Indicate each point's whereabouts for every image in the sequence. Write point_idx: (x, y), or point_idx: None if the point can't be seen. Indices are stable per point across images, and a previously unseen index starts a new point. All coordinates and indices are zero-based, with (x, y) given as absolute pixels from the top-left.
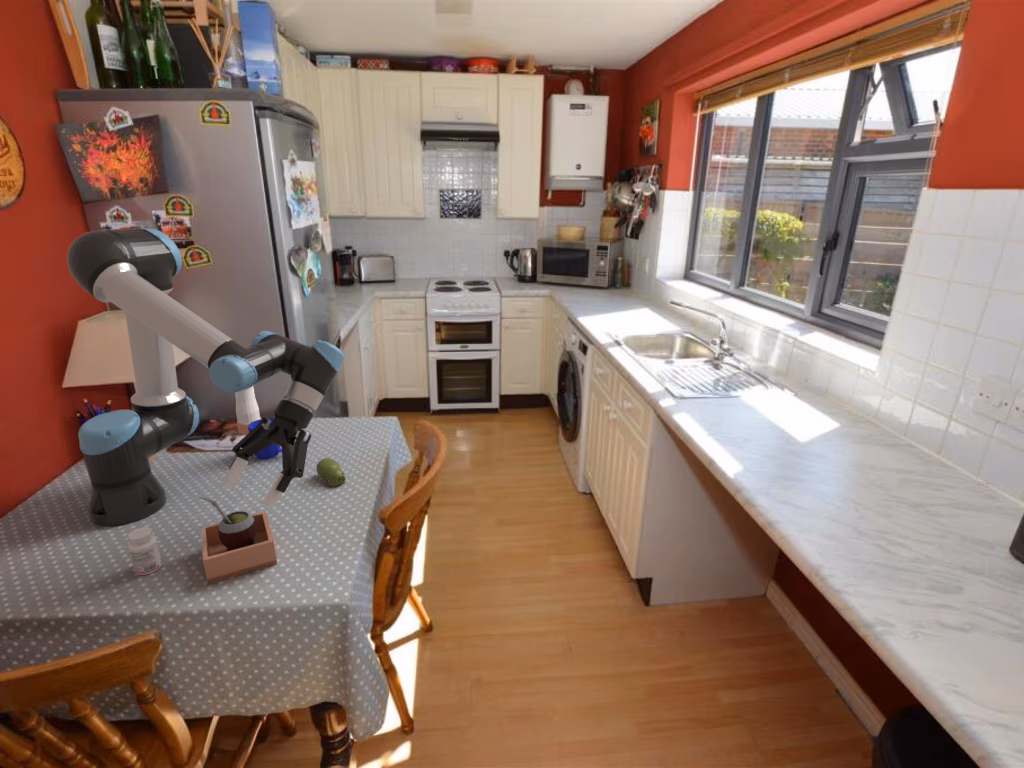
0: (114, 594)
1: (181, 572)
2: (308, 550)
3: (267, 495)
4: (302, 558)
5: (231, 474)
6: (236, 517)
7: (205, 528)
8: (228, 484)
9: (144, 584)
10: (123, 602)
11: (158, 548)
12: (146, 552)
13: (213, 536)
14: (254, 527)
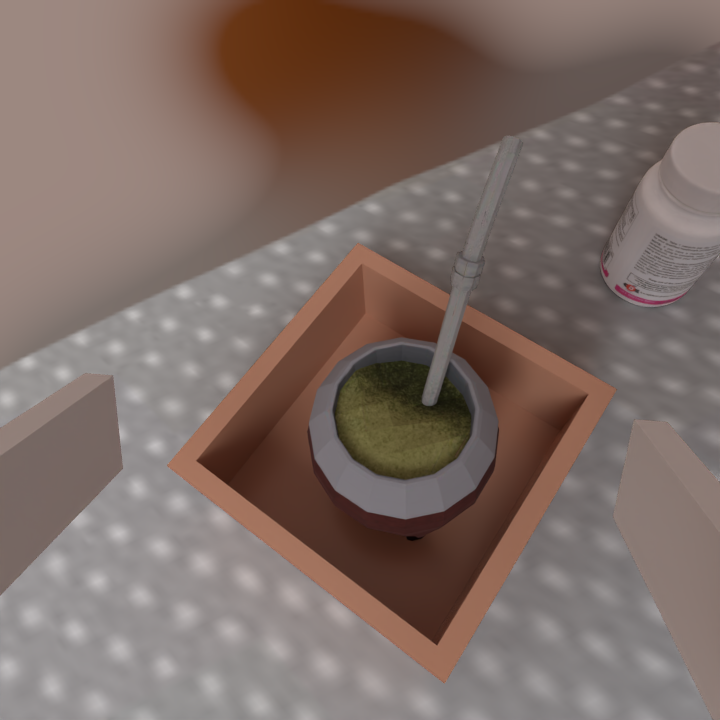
0: (588, 164)
1: (511, 304)
2: (130, 639)
3: (64, 401)
4: (122, 576)
5: (674, 498)
6: (417, 429)
7: (584, 391)
8: (633, 472)
9: (558, 221)
10: (524, 158)
11: (655, 261)
12: (632, 197)
13: (559, 435)
14: (319, 477)
